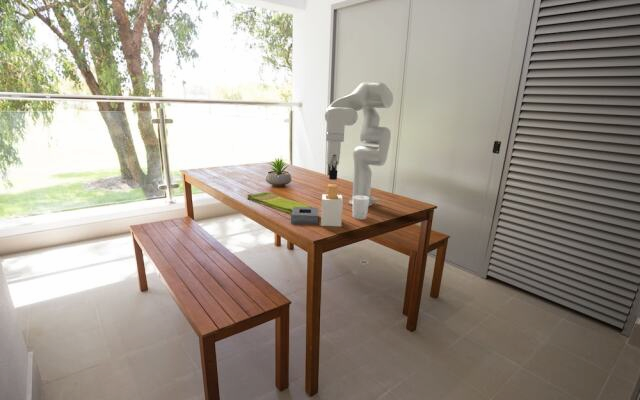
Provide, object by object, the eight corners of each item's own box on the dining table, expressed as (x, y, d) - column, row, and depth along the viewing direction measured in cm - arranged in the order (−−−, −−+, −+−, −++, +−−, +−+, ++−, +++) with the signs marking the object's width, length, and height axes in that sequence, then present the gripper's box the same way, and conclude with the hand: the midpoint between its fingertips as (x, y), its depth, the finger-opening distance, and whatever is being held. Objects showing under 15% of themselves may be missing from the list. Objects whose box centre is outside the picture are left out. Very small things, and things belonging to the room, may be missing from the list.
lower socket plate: (318, 215, 158) (318, 207, 157) (317, 224, 146) (318, 215, 145) (293, 214, 158) (293, 206, 157) (290, 223, 146) (291, 214, 145)
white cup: (366, 214, 162) (367, 195, 159) (369, 220, 154) (370, 200, 151) (350, 214, 161) (351, 195, 159) (352, 219, 154) (353, 199, 151)
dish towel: (268, 195, 192) (268, 189, 191) (312, 209, 169) (312, 203, 168) (246, 199, 181) (246, 194, 180) (290, 215, 158) (290, 209, 157)
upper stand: (340, 219, 154) (341, 195, 150) (341, 226, 145) (342, 200, 142) (321, 218, 154) (322, 194, 150) (321, 225, 145) (322, 199, 142)
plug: (336, 203, 149) (337, 184, 146) (336, 206, 145) (337, 186, 142) (327, 203, 149) (328, 184, 146) (327, 205, 145) (328, 186, 142)
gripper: (326, 135, 147) (324, 173, 151) (326, 138, 130) (324, 180, 135) (342, 136, 147) (340, 174, 151) (345, 139, 130) (342, 181, 135)
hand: (332, 177), depth 143 cm, fingers open, 9 cm apart
